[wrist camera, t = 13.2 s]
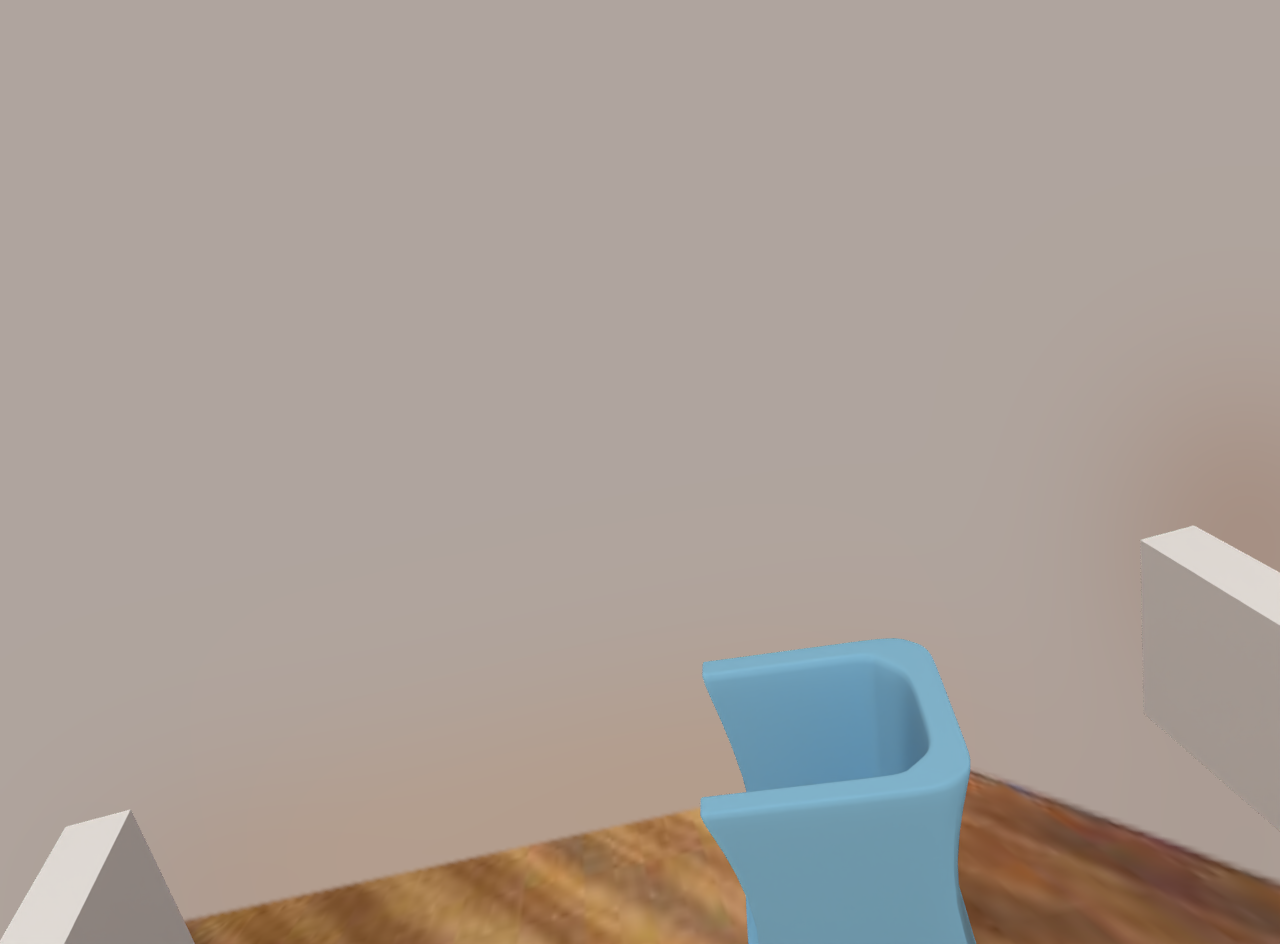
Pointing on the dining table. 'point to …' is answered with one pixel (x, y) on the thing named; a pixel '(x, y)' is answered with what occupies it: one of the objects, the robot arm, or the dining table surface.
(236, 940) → the dining table surface
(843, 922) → the vase
